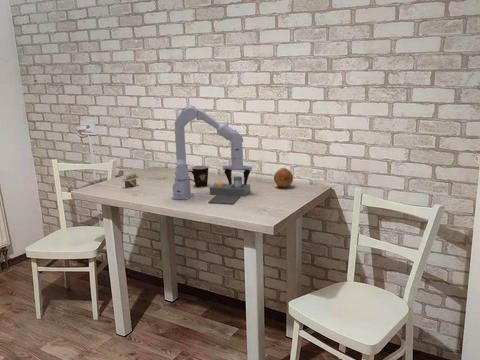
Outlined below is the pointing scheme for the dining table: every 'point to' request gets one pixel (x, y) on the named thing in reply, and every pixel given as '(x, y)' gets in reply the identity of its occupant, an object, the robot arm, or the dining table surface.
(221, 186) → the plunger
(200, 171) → the coffee mug
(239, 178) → the cylinder
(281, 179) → the onion
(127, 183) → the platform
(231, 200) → the mat
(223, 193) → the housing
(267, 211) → the dining table surface
